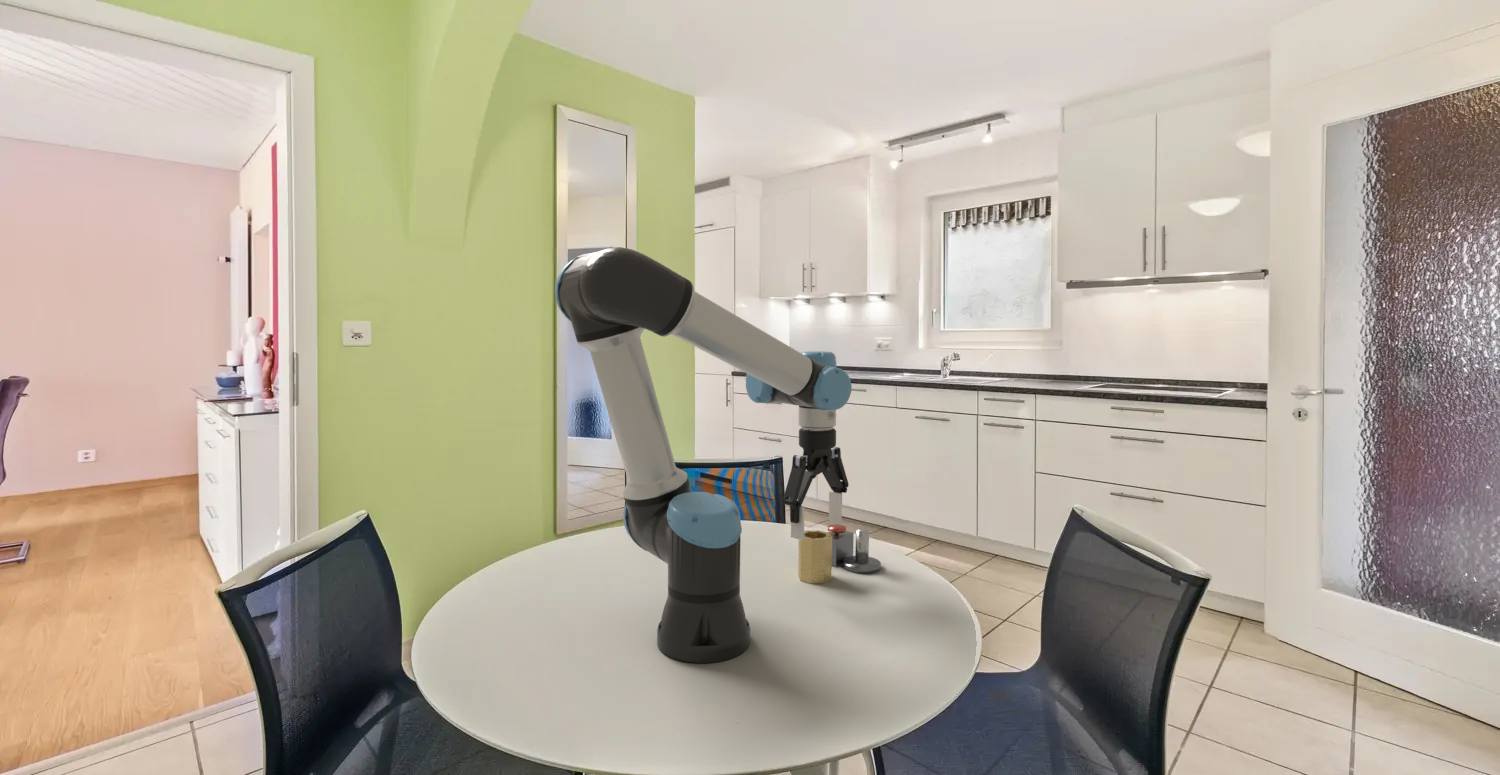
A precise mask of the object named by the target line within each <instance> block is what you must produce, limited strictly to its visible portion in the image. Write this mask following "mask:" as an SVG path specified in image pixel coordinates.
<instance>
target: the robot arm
mask: <svg viewBox="0 0 1500 775" xmlns="http://www.w3.org/2000/svg"><path fill="white" fill-rule="evenodd" d="M554 297H555V301H556V304H557V306H558V309H559V310H560V312H561V313H562V314H563V316H564V317H565V318H567V319H568V320H569V321H570V322H571V325H572V329H573V332H574V335H575V339H576V342H577V344H578V345H580V347H581V346H582V347H583V348H584V349H587V351H589V352H590V356H591V360H592V363H593V365H594V369H595V370H594V371H595V373H596V376H597V380H598V382H599V387H600V390H601V393H602V396H603V401H604V403H605V407H606V410H607V411H606V412H607V413H608V416H609V417H608V418H609V421H610V424H611V427H612V430H613V433H614V437H615V440H616V444H617V446H618V448H617V449H618V451H619V454H620V457H621V460H622V464H623V467H624V471H625V473H626V477H627V481H628V482H627V484H626V485H625V487H624V488H623V490H622V496H623V498H624V501H625V506H624V507H623V512H622V515H623V516H622V517H623V518H622V519H623V525H624V529H625V531H626V533H627V535H628V537H630V539H631V540H632V541H633V542H634V543H635V544H636V546H638V547H639V548H640V549H642V550H644V551H646V552H648V553H650V554H651V555H653V556H655V557H656V558H658V559H659V560H661V561H663V562H664V563H666V564H667V598H666V602H665V604H664V607H663V611H662V615H661V619H660V621H659V623H658V626H657V630H656V644H657V648H658V649H659V650H660V652H662V653H663V655H666V656H667V657H669V658H672V659H674V660H677V661H681V662H685V663H686V662H688V663H695V664H697V663H698V664H699V663H700V664H701V663H702V664H703V663H705V664H707V663H718V662H721V661H726V660H730V659H732V658H736V657H737V656H740V655H741V654H742V653H745V651H746V650H747V649H748V648H749V646H750V644H751V626H750V623H749V621H748V620H747V617H746V612H745V607H744V604H743V602H742V601H743V600H742V598H741V589H740V588H741V534H742V523H741V513H740V512H741V511H740V509H739V507H738V505H737V504H736V503H735V502H734V501H733V500H731V499H730V498H728V497H727V496H724V495H721V494H718V493H714V494H712V493H710V492H706V491H692V490H693V489H692V487H691V484H690V480H689V477H688V472H686V471H684V470H683V469H680V468H679V467H677V465H676V462H675V459H674V455H673V452H672V448H671V444H670V440H669V438H668V433H667V430H666V426H665V422H664V418H663V415H662V412H661V408H660V405H659V400H658V397H657V394H656V390H655V389H656V388H655V386H654V382H653V379H652V376H651V371H650V367H649V365H648V360H647V358H646V354H645V351H644V346H643V343H642V339H641V336H642V334H643V332H644V330H648V331H649V332H653V334H655V335H658V336H659V337H663V338H665V337H667V336H670V335H672V336H674V337H676V338H677V339H679V340H680V339H681V340H682V341H684V342H686V343H687V344H690V345H692V346H693V347H696V348H697V349H699V350H700V351H703V352H704V353H707V354H709V355H710V356H713V357H715V358H717V359H719V360H720V361H722V362H724V363H726V364H728V365H730V366H731V367H734V368H736V369H738V370H740V371H741V372H743V373H746V376H745V391H746V393H747V395H748V397H749V399H750V400H751V402H754V403H755V404H771V403H781V404H788V405H792V406H793V405H794V406H798V426H799V427H800V428H799V430H798V446H799V447H800V448H802V451H803V452H802V455H797V454H794V455H793V456H792V461H791V462H792V463H791V464H792V465H791V469H790V470H791V471H790V474H789V477H788V481H787V484H786V487H785V490H784V495H783V498H782V504H783V505H785V506H789V516H790V518H789V520H790V538H793V539H796V540H799V539H800V540H803V539H804V531H805V506H803V503H804V501H805V498H806V497H807V493H808V491H809V489H810V486H811V484H812V482H813V480H814V479H815V478H816V477H817V476H819V475H820V474H821V473H822V475H823V477H824V479H825V480H826V482H827V484H828V486H829V487H830V489H831V491H828V522H829V523H833V524H836V525H842V524H843V522H842V520H843V519H842V518H843V516H842V514H843V510H842V509H843V508H842V507H843V493H844V494H846V493H847V491H848V488H849V485H850V484H849V481H848V478H847V473H846V471H845V467H844V463H843V460H842V456H841V453H842V452H841V447H839V446H836V445H837V430H836V429H835V428H834V427H835V426H836V425H837V410H840V409H842V408H843V407H844V406H845V405H846V404H847V403H848V401H849V399H850V397H851V395H852V394H851V393H852V387H853V386H852V382H851V377H850V376H849V374H848V373H847V372H846V371H845V370H843V369H842V368H839V367H837V357H836V354H835V353H833V352H832V351H822V350H821V351H819V350H818V351H817V350H815V351H814V350H813V351H812V350H810V351H802V352H800V351H798V350H796V349H795V348H793V347H791V346H789V345H787V344H786V343H784V342H782V341H780V340H779V339H777V337H775V336H773V335H770V334H768V332H765V331H764V330H762V329H760V328H758V327H757V326H755V325H753V324H752V323H750V322H748V321H747V320H745V319H743V318H741V317H739V316H738V315H736V314H735V313H733V312H731V311H729V310H728V309H726V308H724V307H722V306H720V304H718V303H715V302H714V301H712V300H710V299H708V298H707V297H706V296H704V295H702V294H701V293H698V292H697V291H695V285H694V283H693V282H692V281H691V280H690V279H688V278H686V277H684V276H683V275H681V274H679V273H677V272H676V271H674V270H672V269H671V268H669V267H668V266H665V265H664V264H662V263H660V262H658V261H657V260H655V259H653V258H652V257H649V256H648V255H646V254H644V253H642V252H639V251H636V250H635V249H630V248H626V247H620V246H619V247H618V246H617V247H614V246H613V247H608V248H604V249H602V250H599V251H594V252H589V253H584V254H581V255H578V256H576V257H575V258H574V259H572V260H570V261H569V262H568V263H566V264H565V265H564V266H563V267H562V268H561V271H560V272H559V273H558V276H557V278H556V280H555V285H554Z"/></svg>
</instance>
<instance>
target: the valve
mask: <svg viewBox="0 0 1500 775" xmlns="http://www.w3.org/2000/svg"><path fill="white" fill-rule="evenodd" d="M827 531H828V533H830V534H831V536H832V567H834V568H837V567H839V566H841V565H842V568H843V569H844V570H846V571H847V572H850V573H854V574H859V575H860V574H861V575H862V574H863V575H867V574H875V573H878V572H879V571H881V567H882V566H881V564H882V563H881V561H880V560H879V559H878V558H875V557H872V556H870V555H869V550H870V529H868V528H864V527H861V528H860V527H859V528H858V527H857V528H856V529H855V535H854V532H852V531H850V530H849V531H848V530H847V527H846V526H845V525H843V524H836V523H834V524H829V525H827ZM854 536H855V538H854ZM854 539H855V550H854ZM854 551H855V552H854ZM854 553H855V555H854Z"/></svg>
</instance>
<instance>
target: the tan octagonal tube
mask: <svg viewBox="0 0 1500 775" xmlns="http://www.w3.org/2000/svg"><path fill="white" fill-rule="evenodd" d="M828 532H829V531H828ZM828 532H827V531H823V530H817V529H816V530H804V539H803V540H800V539H798V561H797V562H798V564H797V565H798V570H797V572H798V573H797V575H798V579H799V580H800V581H801V582H804V583H808V584H815V585H817V584H826V583H827V582H828V583H829V581H832V567H833V566H832V536H831V534H830V533H828Z"/></svg>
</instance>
